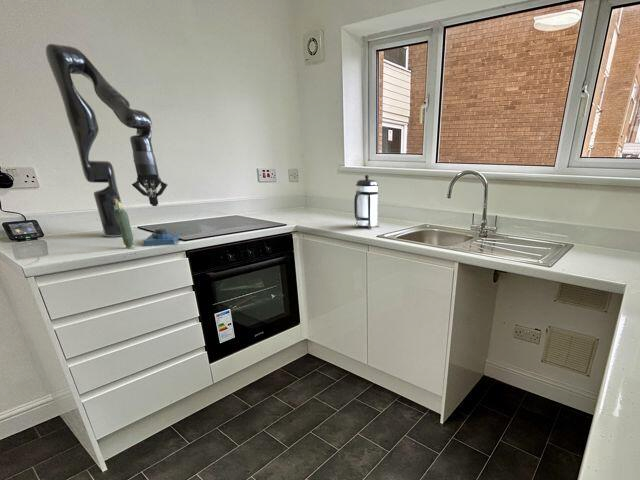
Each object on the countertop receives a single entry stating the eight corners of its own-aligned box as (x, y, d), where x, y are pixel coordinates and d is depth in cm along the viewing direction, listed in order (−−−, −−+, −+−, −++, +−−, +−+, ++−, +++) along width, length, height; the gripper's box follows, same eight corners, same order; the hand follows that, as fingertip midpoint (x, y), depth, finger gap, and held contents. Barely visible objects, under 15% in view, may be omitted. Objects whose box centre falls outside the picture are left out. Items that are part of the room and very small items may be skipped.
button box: (151, 239, 162) (150, 230, 160) (179, 238, 166) (177, 229, 164) (145, 245, 150) (142, 236, 148) (174, 244, 154) (172, 235, 153)
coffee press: (351, 225, 217) (350, 173, 206) (376, 224, 220) (377, 174, 210) (354, 230, 201) (354, 175, 190) (382, 229, 205) (382, 175, 194)
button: (157, 233, 158) (155, 228, 157) (167, 233, 159) (166, 228, 158) (155, 235, 154) (154, 230, 153) (165, 234, 156) (164, 230, 155)
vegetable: (138, 248, 146) (126, 198, 139) (128, 250, 142) (115, 199, 135) (131, 247, 147) (118, 198, 140) (120, 249, 143) (107, 198, 136)
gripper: (165, 163, 151) (173, 204, 158) (129, 162, 146) (138, 205, 153) (162, 163, 145) (170, 206, 151) (123, 162, 140) (134, 207, 146)
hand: (154, 205), depth 152 cm, fingers closed
